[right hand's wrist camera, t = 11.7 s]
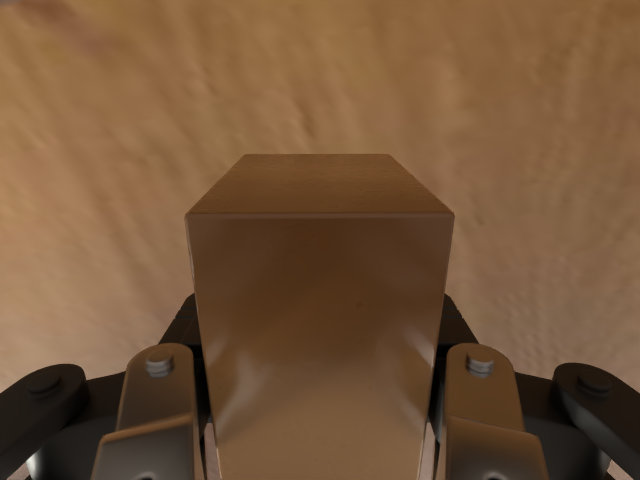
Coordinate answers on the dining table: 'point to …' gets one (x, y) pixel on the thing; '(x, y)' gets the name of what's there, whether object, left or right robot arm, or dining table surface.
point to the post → (319, 314)
